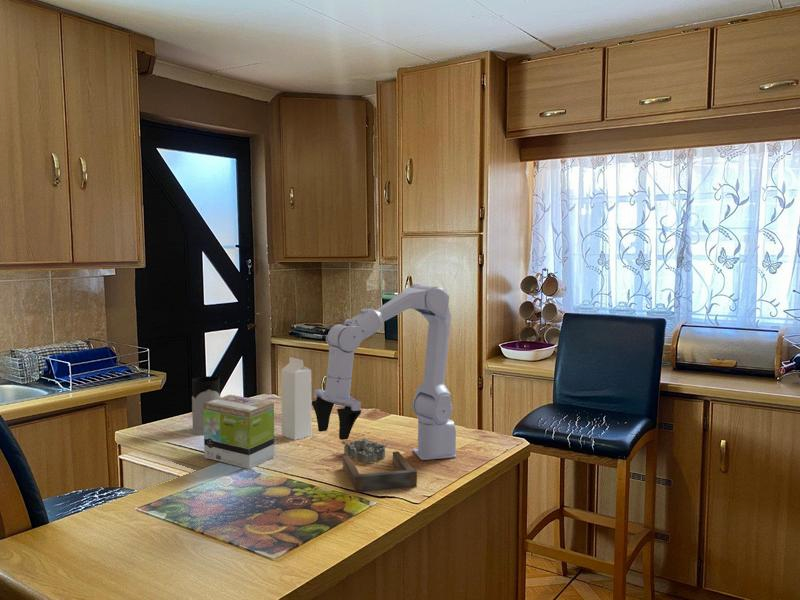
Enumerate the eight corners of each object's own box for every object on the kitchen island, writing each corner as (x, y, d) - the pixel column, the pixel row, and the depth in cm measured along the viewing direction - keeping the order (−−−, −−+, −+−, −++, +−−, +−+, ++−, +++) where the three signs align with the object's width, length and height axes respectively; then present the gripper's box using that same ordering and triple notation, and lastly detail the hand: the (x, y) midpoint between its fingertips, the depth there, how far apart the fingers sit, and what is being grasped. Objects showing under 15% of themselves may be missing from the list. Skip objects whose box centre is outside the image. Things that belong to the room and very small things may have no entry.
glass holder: (194, 436, 178) (192, 383, 176) (185, 423, 190) (184, 373, 189) (225, 432, 182) (224, 380, 180) (215, 419, 194) (214, 371, 193)
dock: (398, 463, 159) (398, 449, 158) (416, 486, 144) (416, 471, 143) (342, 468, 155) (342, 454, 154) (355, 492, 140) (355, 477, 140)
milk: (294, 440, 175) (294, 361, 173) (281, 435, 179) (280, 358, 177) (312, 435, 180) (311, 358, 177) (298, 431, 184) (297, 355, 181)
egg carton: (339, 456, 164) (339, 440, 164) (360, 449, 170) (360, 434, 169) (369, 466, 157) (369, 449, 157) (389, 458, 163) (389, 442, 162)
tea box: (202, 459, 160) (201, 401, 158) (230, 448, 169) (229, 393, 167) (249, 470, 153) (248, 410, 151) (276, 457, 162) (275, 400, 160)
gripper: (306, 371, 149) (300, 429, 150) (346, 383, 139) (340, 444, 140) (329, 370, 154) (323, 426, 155) (370, 382, 144) (363, 441, 145)
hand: (333, 434), depth 147 cm, fingers open, 7 cm apart
